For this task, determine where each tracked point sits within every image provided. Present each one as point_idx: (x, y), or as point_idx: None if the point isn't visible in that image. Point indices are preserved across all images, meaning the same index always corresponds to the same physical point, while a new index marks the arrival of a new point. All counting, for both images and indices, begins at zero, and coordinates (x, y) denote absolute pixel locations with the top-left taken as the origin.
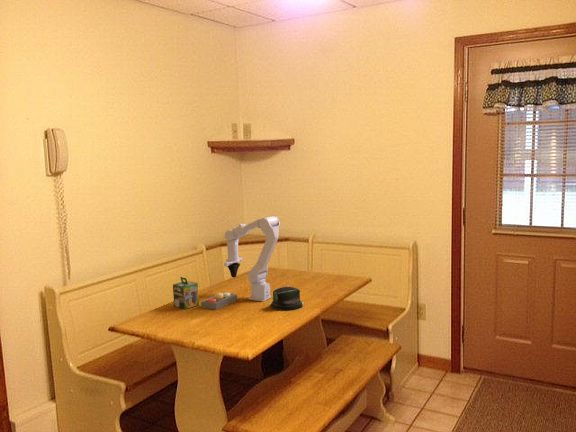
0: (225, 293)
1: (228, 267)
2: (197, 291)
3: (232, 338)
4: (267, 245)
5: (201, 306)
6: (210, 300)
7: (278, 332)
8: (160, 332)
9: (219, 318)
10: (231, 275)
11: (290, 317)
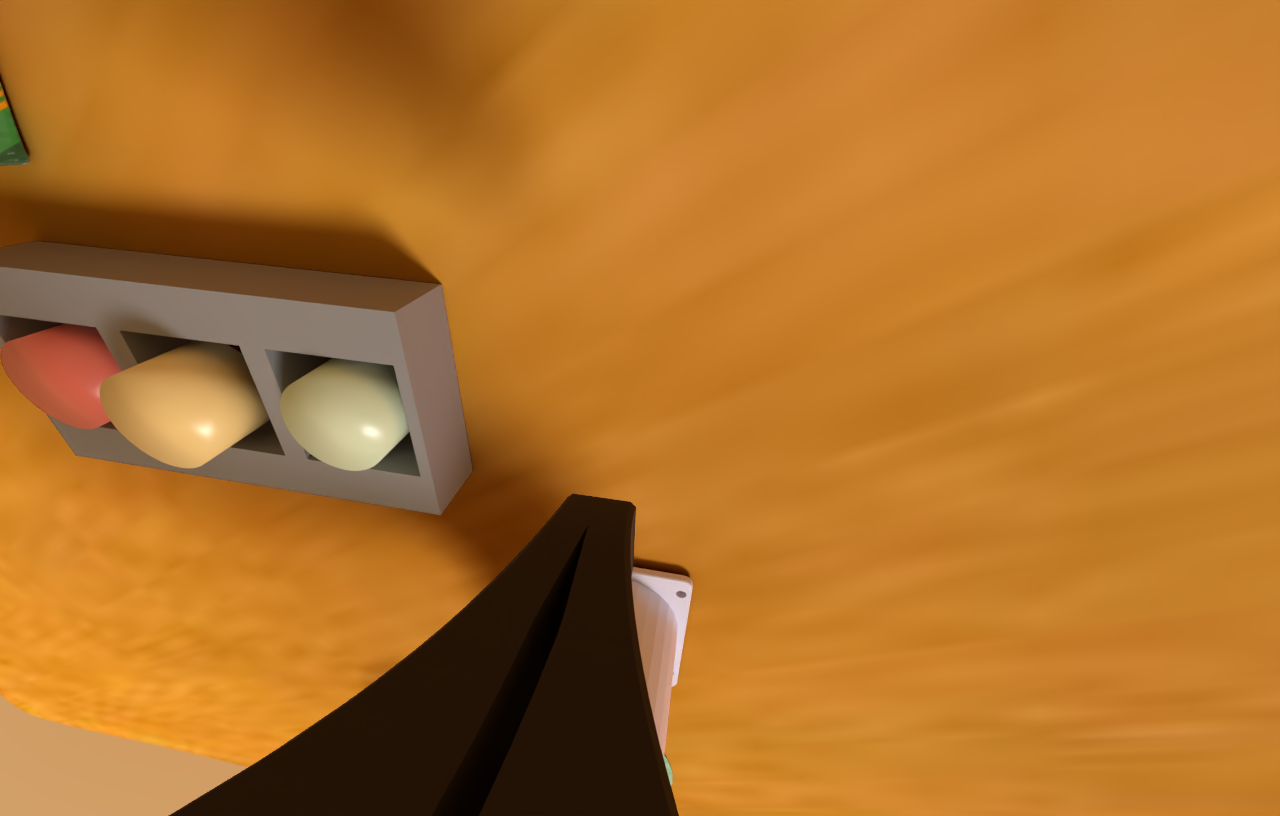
0: (323, 419)
1: (272, 775)
2: None
3: (26, 649)
4: None
5: (21, 246)
6: (23, 386)
7: (227, 754)
8: None
9: (78, 519)
10: (548, 527)
11: None
